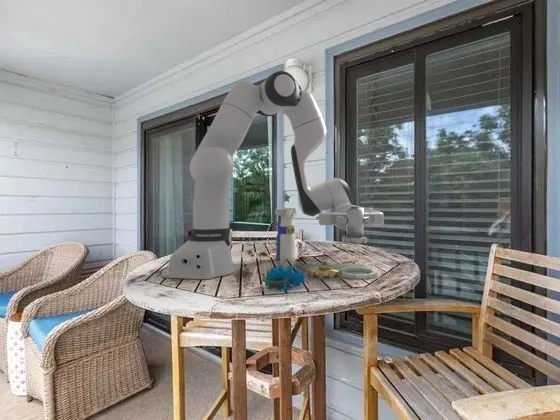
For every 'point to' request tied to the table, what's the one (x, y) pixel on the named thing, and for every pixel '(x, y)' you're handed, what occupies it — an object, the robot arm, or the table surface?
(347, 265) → the gear board
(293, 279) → the gear
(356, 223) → the grey cylindrical peg
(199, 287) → the table surface
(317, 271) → the brass gear
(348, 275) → the seat ring
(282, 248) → the white piece
